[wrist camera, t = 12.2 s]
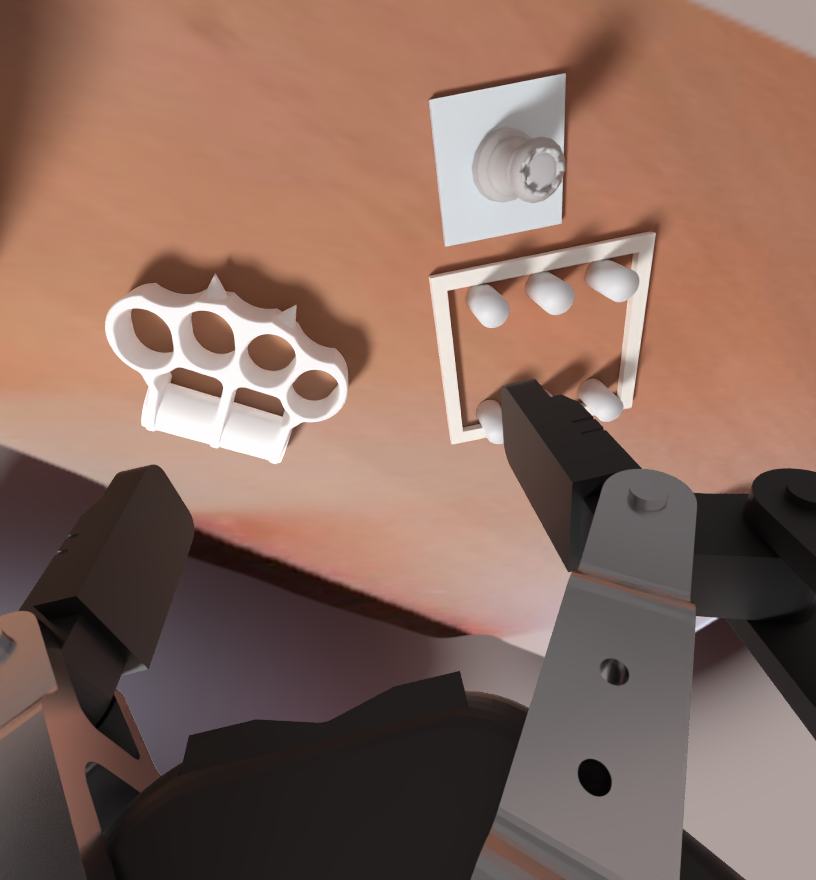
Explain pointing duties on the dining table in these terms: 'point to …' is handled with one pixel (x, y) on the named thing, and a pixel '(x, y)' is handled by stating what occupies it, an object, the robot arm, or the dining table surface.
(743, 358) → the dining table surface
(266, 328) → the white holed part
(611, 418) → the frame
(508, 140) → the rook chess piece
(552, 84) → the tile
